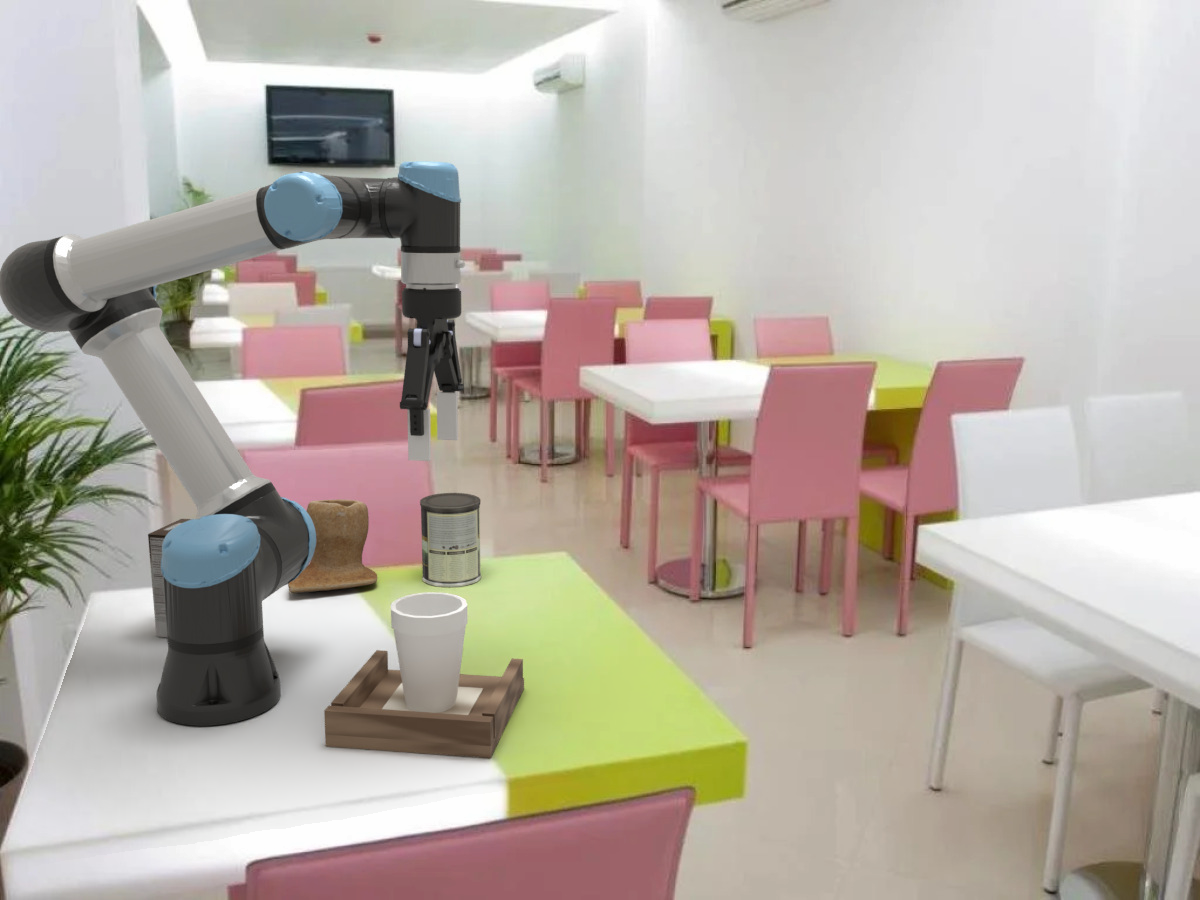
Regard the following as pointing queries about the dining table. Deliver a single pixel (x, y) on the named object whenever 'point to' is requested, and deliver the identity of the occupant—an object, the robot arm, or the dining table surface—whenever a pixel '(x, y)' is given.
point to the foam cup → (429, 648)
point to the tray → (422, 713)
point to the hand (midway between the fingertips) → (434, 449)
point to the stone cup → (336, 547)
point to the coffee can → (450, 539)
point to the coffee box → (159, 575)
